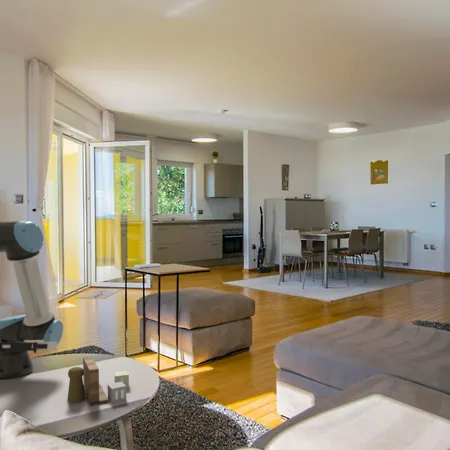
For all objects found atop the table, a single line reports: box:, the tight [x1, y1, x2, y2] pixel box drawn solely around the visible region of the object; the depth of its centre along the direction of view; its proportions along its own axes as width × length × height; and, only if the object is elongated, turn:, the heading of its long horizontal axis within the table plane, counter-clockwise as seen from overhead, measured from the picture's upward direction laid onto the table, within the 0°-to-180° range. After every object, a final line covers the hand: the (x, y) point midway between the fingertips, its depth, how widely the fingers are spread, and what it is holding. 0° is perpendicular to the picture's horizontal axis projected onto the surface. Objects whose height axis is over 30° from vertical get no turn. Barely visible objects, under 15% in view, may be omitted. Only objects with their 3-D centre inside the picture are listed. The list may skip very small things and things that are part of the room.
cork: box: [66, 366, 86, 404], centre depth 156 cm, size 6×6×11 cm
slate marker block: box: [107, 382, 127, 404], centre depth 155 cm, size 5×5×5 cm
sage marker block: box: [114, 370, 130, 389], centre depth 167 cm, size 5×5×5 cm
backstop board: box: [82, 355, 109, 407], centre depth 158 cm, size 16×6×12 cm, turn 25°
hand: (49, 345), depth 154 cm, fingers open, 13 cm apart
